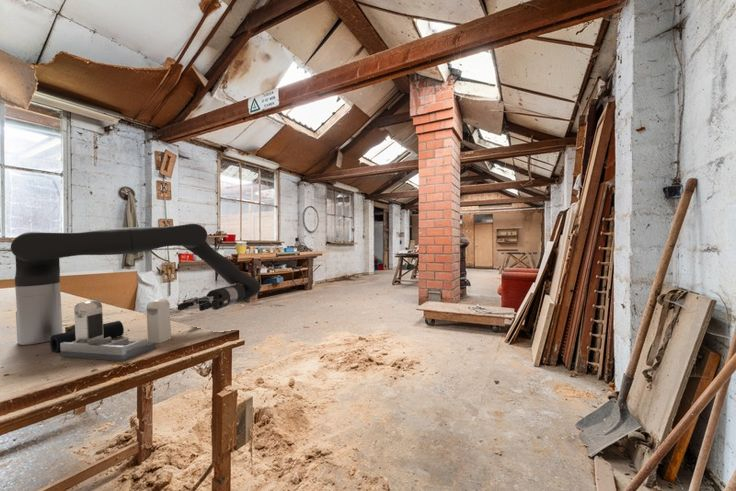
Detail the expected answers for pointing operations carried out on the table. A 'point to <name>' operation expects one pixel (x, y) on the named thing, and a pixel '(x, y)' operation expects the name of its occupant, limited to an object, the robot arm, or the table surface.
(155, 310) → the finger
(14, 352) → the table surface
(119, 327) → the pipe connector
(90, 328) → the bracket
